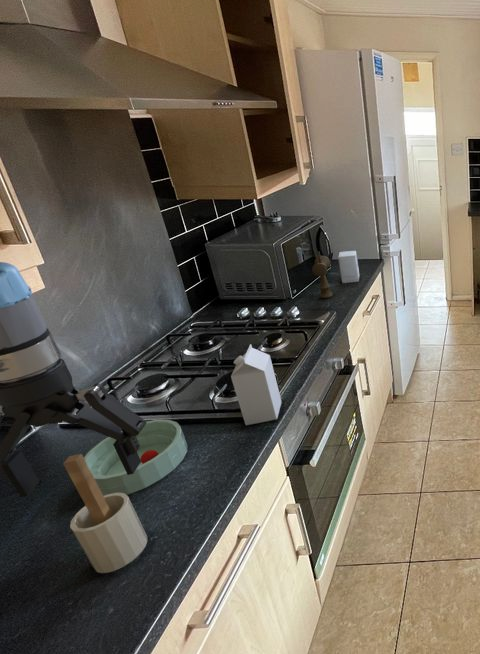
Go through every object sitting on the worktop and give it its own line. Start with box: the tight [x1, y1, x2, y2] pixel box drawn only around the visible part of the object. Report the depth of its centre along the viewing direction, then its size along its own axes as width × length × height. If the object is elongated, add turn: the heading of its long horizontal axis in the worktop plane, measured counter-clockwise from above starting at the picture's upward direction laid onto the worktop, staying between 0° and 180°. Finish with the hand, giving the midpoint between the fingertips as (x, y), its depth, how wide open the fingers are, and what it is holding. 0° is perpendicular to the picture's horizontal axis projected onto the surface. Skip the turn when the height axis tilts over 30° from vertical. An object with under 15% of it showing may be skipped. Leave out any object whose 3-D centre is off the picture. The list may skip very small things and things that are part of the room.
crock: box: [69, 493, 148, 574], centre depth 72 cm, size 7×7×11 cm
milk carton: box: [230, 343, 283, 426], centre depth 104 cm, size 7×7×19 cm
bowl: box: [83, 419, 188, 496], centre depth 91 cm, size 17×17×6 cm
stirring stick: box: [62, 453, 113, 525], centre depth 70 cm, size 2×2×22 cm
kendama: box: [311, 251, 334, 299], centre depth 169 cm, size 6×10×20 cm, turn 16°
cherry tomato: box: [141, 450, 158, 464], centre depth 92 cm, size 3×3×3 cm
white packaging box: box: [337, 250, 360, 284], centre depth 187 cm, size 7×7×13 cm
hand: (84, 478), depth 67 cm, fingers open, 13 cm apart
